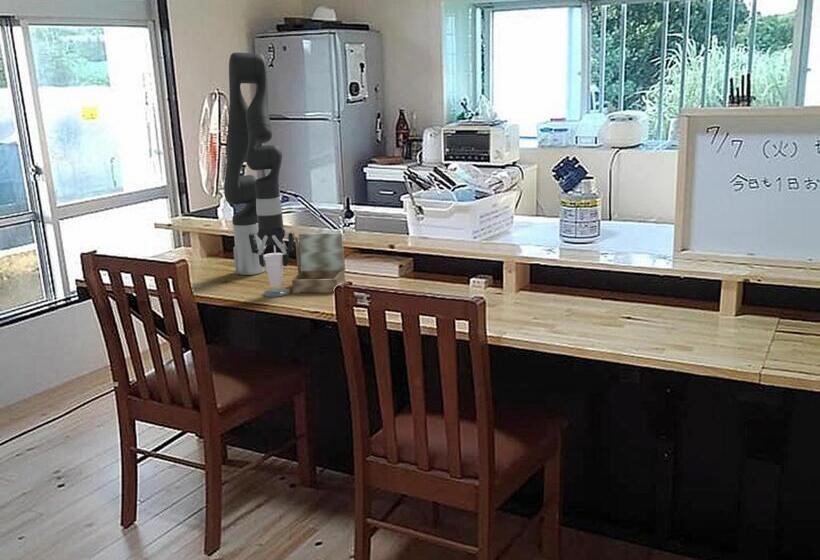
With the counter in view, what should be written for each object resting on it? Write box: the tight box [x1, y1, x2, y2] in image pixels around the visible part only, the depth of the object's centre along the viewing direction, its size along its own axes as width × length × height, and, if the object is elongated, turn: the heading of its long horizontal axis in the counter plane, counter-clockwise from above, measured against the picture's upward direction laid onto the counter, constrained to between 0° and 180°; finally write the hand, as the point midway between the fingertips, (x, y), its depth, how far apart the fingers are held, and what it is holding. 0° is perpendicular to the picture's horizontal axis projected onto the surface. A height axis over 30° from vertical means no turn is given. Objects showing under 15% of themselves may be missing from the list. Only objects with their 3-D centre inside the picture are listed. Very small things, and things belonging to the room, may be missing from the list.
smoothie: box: [263, 245, 284, 288], centre depth 248 cm, size 6×6×14 cm
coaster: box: [263, 287, 291, 298], centre depth 251 cm, size 8×8×1 cm
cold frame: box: [291, 232, 346, 294], centre depth 254 cm, size 15×13×16 cm
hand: (274, 265), depth 248 cm, fingers closed on smoothie, 6 cm apart
